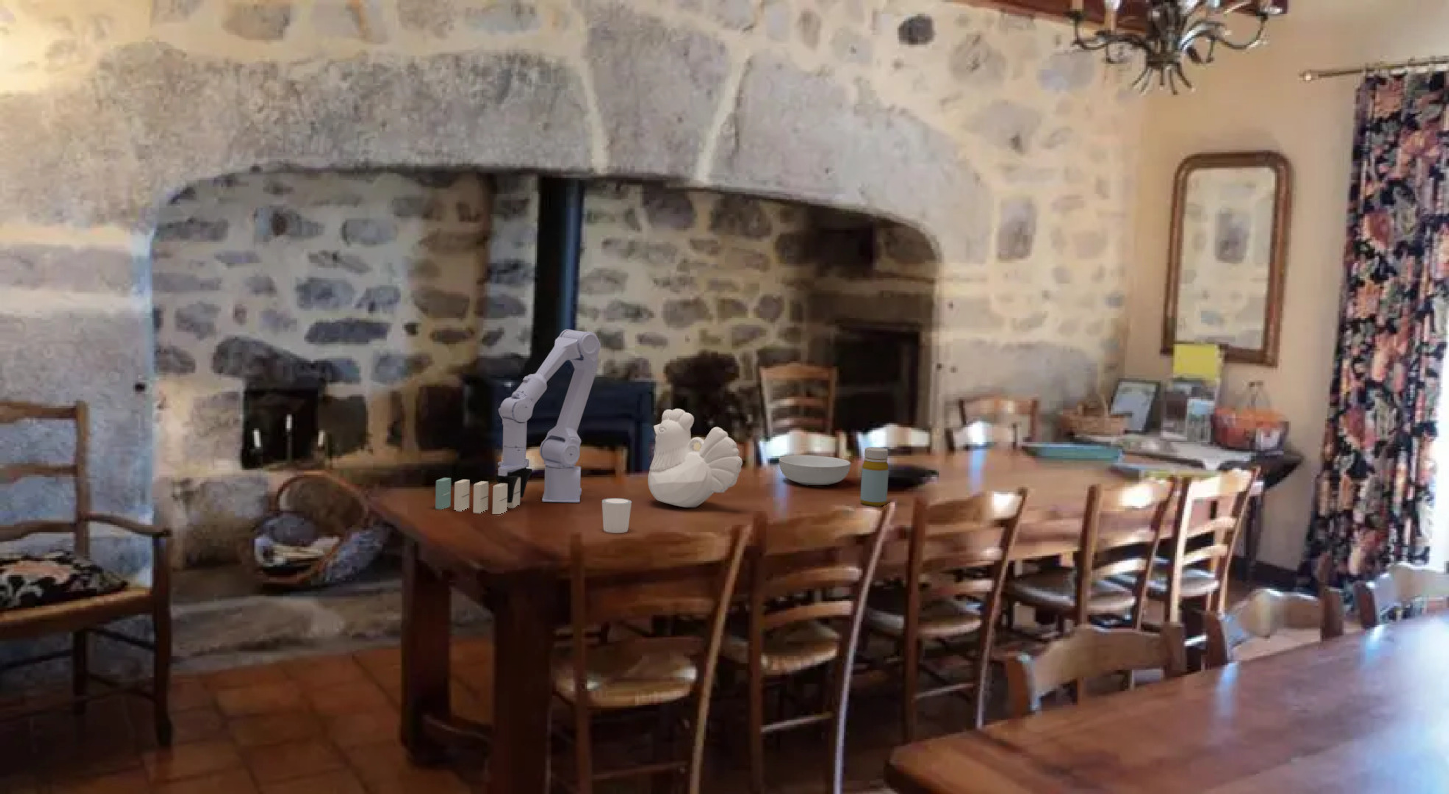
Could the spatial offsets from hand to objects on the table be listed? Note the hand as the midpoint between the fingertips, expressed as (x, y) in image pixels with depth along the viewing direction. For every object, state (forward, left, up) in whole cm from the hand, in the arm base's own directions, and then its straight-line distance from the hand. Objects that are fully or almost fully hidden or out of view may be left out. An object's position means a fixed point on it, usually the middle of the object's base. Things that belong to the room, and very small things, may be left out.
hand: (513, 499), depth 297 cm
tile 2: (+12, +5, -2) cm, 13 cm away
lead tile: (0, 0, -2) cm, 2 cm away
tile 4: (+3, +8, -2) cm, 9 cm away
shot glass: (-25, +24, -2) cm, 35 cm away
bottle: (-95, -12, -2) cm, 96 cm away
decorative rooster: (-45, -3, -2) cm, 45 cm away
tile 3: (+7, +7, -2) cm, 10 cm away
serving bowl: (-84, -40, -2) cm, 93 cm away
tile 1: (+17, +3, -2) cm, 17 cm away
